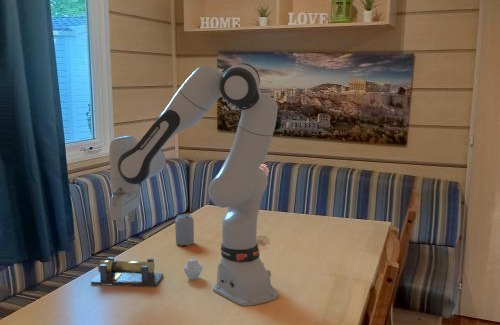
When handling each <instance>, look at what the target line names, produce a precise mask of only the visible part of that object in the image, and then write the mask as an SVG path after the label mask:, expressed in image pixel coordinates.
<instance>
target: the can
mask: <svg viewBox="0 0 500 325" xmlns="http://www.w3.org/2000/svg"><path fill="white" fill-rule="evenodd" d="M174 222H175V230H174V231H175V244H177V245H178V244H179V245H189V244H191V245H193V244H194V242H195V227H194V225H195V224H194V223H195V222H194V218H193V215H191V214H187V213H184V214H183V213H182V214H178V215H177V216H176V218H175V221H174ZM179 245H178V246H179ZM189 246H190V245H189Z"/></svg>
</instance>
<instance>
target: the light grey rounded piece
mask: <svg viewBox="0 0 500 325" xmlns="http://www.w3.org/2000/svg"><path fill="white" fill-rule="evenodd" d="M183 270H184V271H183V272H184V274H185V275H186V277H187V279H188V280H189V281H196V280H197V279H199V277H200V275H201V273H202V270H203V266H202V265H201V264H200V263H199V260H198V259H196V258H190V259H188V260H187V263H186V264H185V266H184V268H183Z"/></svg>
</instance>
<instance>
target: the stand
mask: <svg viewBox="0 0 500 325" xmlns="http://www.w3.org/2000/svg"><path fill="white" fill-rule="evenodd" d="M154 259H155V258H147V259H146V262H154V263H155V260H154ZM106 260H110V261H115V257H112V256H108V257H107V259H106ZM141 273H142V274H133V273H107V265H105V264H101V265H100V272H99V273H98V274H97V275H96V276H95V277H94V278H93V279H92V280H91V281H90V285H91V284H112V285H111V286H117V285H132V286H131V287H144V286H154V287H153V288H157V287H156V286H158V285H159V284H158V283H160V282H161V281H162V279H163V278H164V273H161V272H159V273H156V272H154V273H153V274H148V266H142V267H141ZM162 277H163V278H162ZM161 278H162V279H161ZM160 280H161V281H160Z"/></svg>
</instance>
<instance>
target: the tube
mask: <svg viewBox="0 0 500 325" xmlns="http://www.w3.org/2000/svg"><path fill="white" fill-rule="evenodd" d="M101 264H105V265H107V273H133V274H142V273H141V267H142V266H148V274H153V273H155V268H156V267H155V261H154V262H147V261H136V260H135V261H134V260H114V261H110V260H107V259H105V260H104V259H101V260H99V262H98V263H97V270H98V272H99V273H100V265H101Z"/></svg>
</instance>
